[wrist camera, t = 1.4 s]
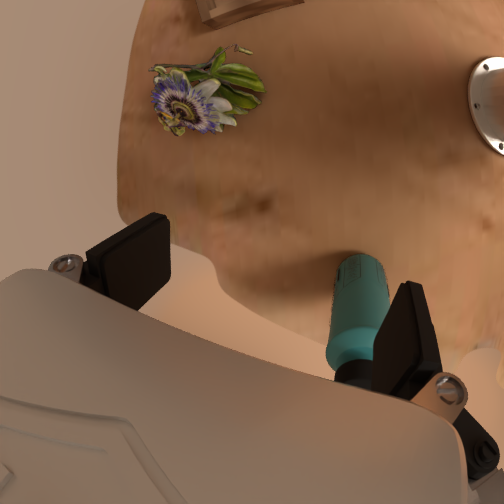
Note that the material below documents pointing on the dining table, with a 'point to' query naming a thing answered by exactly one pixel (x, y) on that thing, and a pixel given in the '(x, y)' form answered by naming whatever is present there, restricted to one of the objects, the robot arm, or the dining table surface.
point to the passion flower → (204, 94)
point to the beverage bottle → (356, 319)
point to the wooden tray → (236, 10)
